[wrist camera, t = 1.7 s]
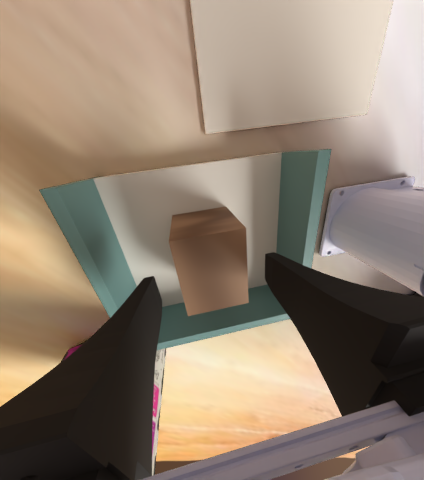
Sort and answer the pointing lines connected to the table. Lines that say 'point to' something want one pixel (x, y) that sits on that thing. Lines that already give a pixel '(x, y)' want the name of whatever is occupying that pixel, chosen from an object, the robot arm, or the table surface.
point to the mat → (286, 59)
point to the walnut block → (210, 259)
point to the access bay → (184, 201)
